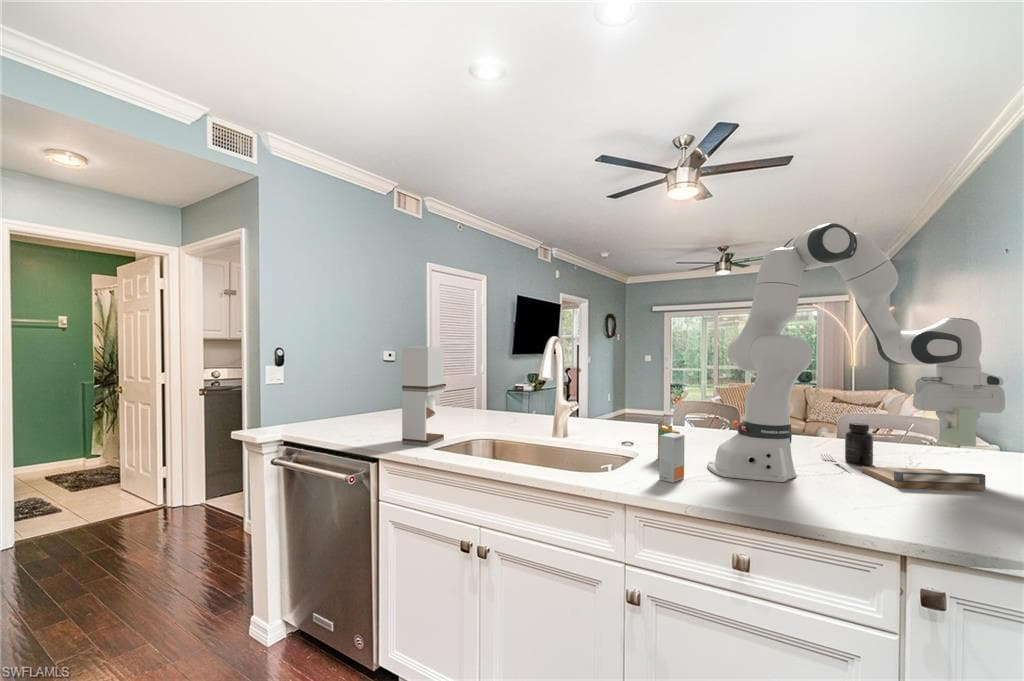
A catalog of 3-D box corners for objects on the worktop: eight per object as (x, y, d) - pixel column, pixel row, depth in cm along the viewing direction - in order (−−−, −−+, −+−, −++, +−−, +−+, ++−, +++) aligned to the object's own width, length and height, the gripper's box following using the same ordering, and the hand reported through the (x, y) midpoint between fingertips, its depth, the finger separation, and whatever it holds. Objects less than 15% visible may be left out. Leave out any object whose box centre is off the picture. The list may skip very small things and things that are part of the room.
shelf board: (897, 488, 115) (897, 472, 115) (861, 471, 129) (861, 457, 129) (986, 491, 113) (986, 475, 113) (940, 474, 127) (940, 460, 127)
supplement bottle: (878, 467, 135) (878, 426, 135) (852, 465, 136) (852, 425, 136) (865, 460, 141) (865, 422, 141) (840, 459, 143) (840, 421, 143)
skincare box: (673, 483, 119) (673, 437, 119) (658, 479, 122) (658, 435, 122) (685, 478, 123) (685, 434, 123) (670, 475, 126) (670, 432, 126)
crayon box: (680, 463, 138) (680, 425, 138) (671, 464, 137) (671, 426, 137) (665, 457, 145) (665, 421, 145) (657, 458, 144) (657, 421, 144)
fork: (859, 482, 121) (859, 475, 121) (819, 459, 145) (819, 453, 145) (873, 483, 121) (873, 476, 121) (830, 459, 144) (830, 454, 144)
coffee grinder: (427, 446, 160) (427, 347, 161) (402, 444, 164) (402, 347, 164) (443, 439, 171) (443, 346, 171) (419, 437, 175) (419, 346, 175)
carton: (958, 445, 121) (959, 408, 121) (939, 440, 128) (939, 405, 128) (976, 446, 121) (976, 408, 121) (955, 441, 127) (956, 405, 127)
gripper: (924, 377, 123) (923, 428, 123) (1010, 379, 120) (1010, 432, 120) (907, 375, 129) (906, 424, 129) (989, 377, 126) (988, 427, 126)
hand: (957, 428), depth 124 cm, fingers closed on carton, 4 cm apart
